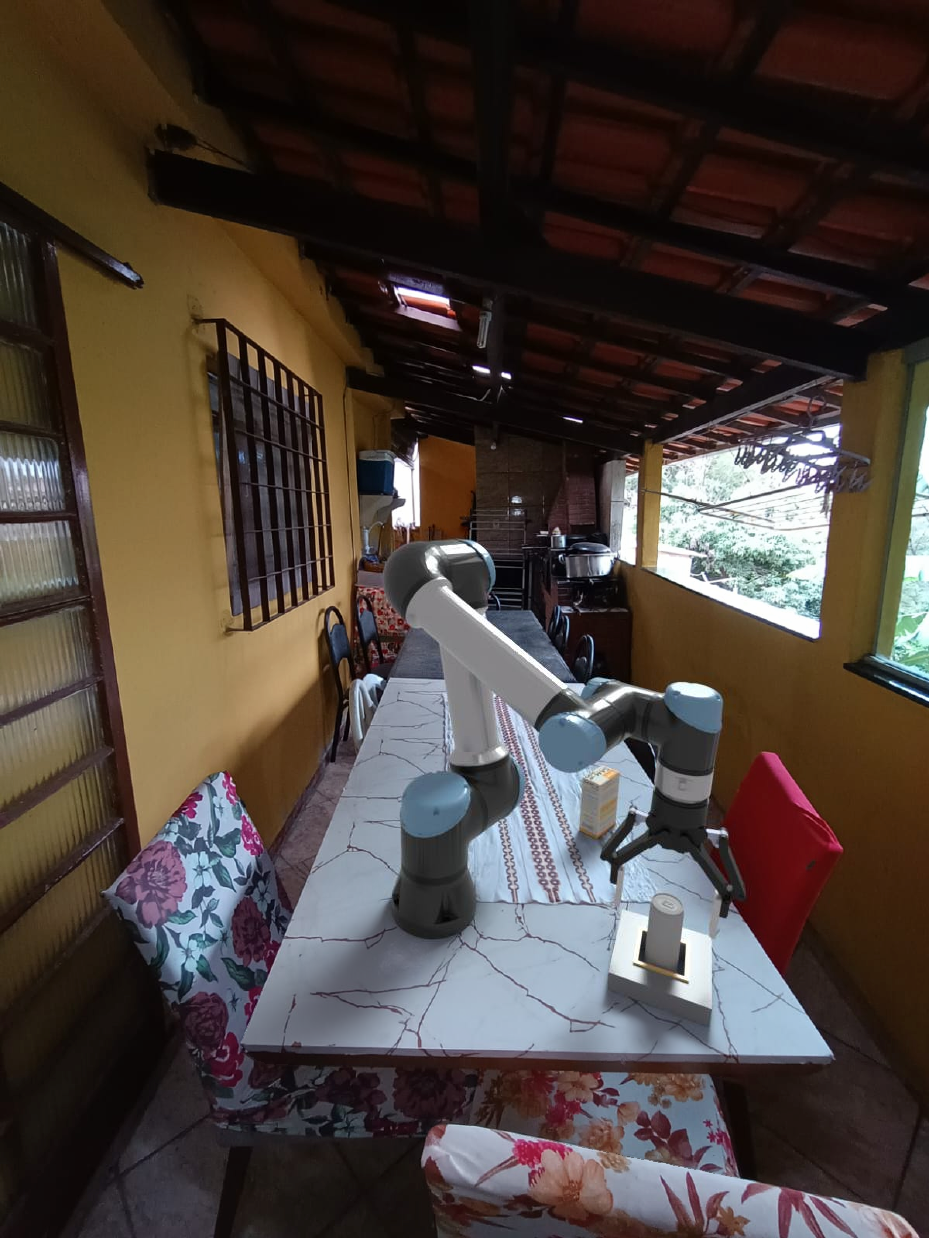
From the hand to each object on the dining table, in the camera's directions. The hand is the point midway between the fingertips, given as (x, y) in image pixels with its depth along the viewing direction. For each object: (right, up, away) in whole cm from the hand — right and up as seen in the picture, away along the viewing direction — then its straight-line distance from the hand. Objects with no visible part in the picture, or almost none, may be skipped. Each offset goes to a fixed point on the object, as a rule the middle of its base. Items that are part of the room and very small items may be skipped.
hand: (663, 916), depth 82 cm
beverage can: (0, -9, +2) cm, 10 cm away
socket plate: (0, -9, +2) cm, 9 cm away
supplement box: (-1, -2, +38) cm, 39 cm away
